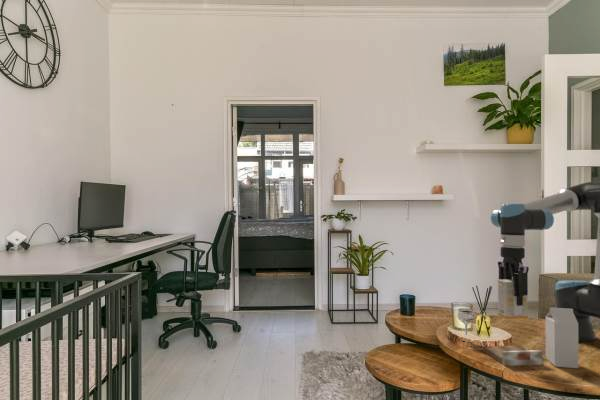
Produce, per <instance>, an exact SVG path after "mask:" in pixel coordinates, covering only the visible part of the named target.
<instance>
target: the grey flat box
mask: <svg viewBox="0 0 600 400" xmlns="http://www.w3.org/2000/svg"><path fill="white" fill-rule="evenodd" d="M482 351H483V353H485V354H486V355H487V356H489V357H490V358H492V359H494V361H496V362H498V363H500V364H501V365H503V366H504V367H505V366H507V367H508V366H509V367H511V366H533V365H534V366H536V365H537V366H538V365H544V351H543V350H542V349H530V350H529V349H526V348H524V346H521V345H518V344H517V345H515V344H514V345H488V346H487V345H486V346H485V345H484V346H483V350H482Z"/></svg>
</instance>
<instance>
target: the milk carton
mask: <svg viewBox="0 0 600 400" xmlns="http://www.w3.org/2000/svg"><path fill="white" fill-rule="evenodd" d="M545 359H546V360H547V361H548V362H549V363H550V364H552V365H553V366H554V367H556V368H557V367H558V368H571V369H579V341H578V322H577V320H576V318H575V315H574V313H573V309H566V308H556V307H549V311H548V312H547V314H546V315H545Z"/></svg>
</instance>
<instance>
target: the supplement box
mask: <svg viewBox="0 0 600 400" xmlns="http://www.w3.org/2000/svg"><path fill="white" fill-rule="evenodd" d="M513 294H515V290H514V282H513V278H512V279H499V278H498V279H497V305H498V306H497V307H498V308H497V309H498V311H497V312H498V313H497V314H498V316H500V317H501V318H504V319H507V320H508V319H528V315H529V314H528V311H529V310H528V309H529V308H528V304H529V303H528V295H525V296H523V305H522V315H514V314H513Z"/></svg>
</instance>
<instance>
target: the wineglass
mask: <svg viewBox="0 0 600 400" xmlns="http://www.w3.org/2000/svg"><path fill="white" fill-rule="evenodd" d="M475 312H476V310H475V309H471V308H463V307H462V308H461V307H459V308H457V313H456V314H457V315H456V317H457V319H458V320H459V321H460V322H461V323H462V324H463V325H464V329H465V336H466V335H467V336H468V325H469V324H471V323H473V322H475V319H476V314H475Z"/></svg>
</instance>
